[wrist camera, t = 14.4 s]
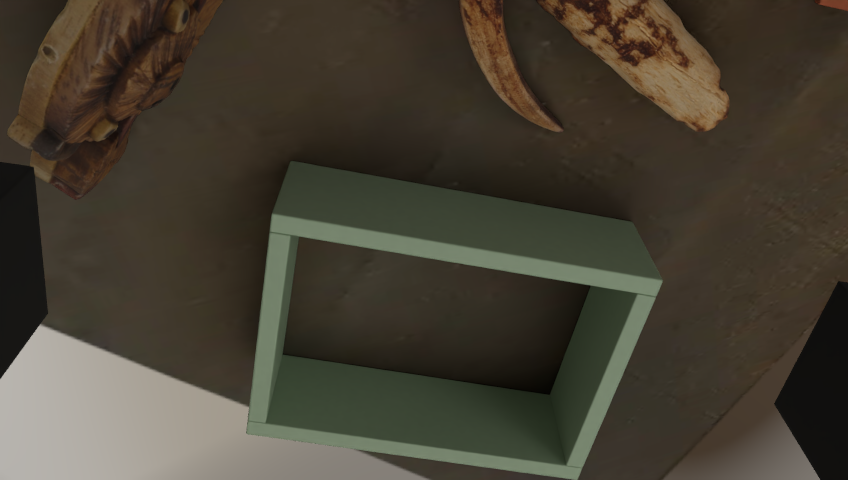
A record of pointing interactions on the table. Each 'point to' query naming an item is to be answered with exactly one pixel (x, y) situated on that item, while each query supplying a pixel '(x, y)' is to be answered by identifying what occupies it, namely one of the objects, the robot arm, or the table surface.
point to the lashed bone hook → (608, 56)
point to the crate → (434, 397)
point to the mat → (834, 3)
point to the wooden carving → (101, 82)
